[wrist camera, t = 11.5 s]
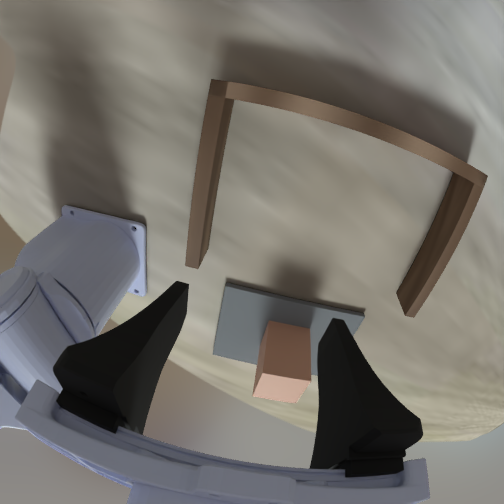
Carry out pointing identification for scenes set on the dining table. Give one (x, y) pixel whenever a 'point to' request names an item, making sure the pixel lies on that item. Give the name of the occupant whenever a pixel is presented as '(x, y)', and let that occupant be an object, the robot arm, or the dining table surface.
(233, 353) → the grey mat
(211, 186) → the open side frame
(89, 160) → the dining table surface
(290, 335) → the terracotta block
